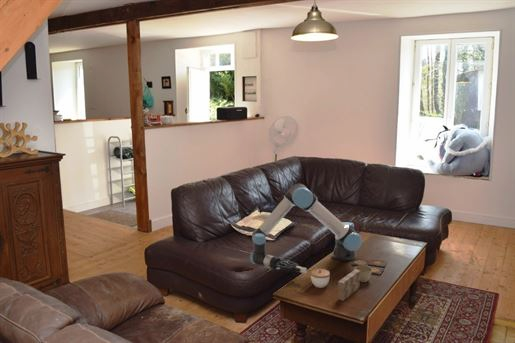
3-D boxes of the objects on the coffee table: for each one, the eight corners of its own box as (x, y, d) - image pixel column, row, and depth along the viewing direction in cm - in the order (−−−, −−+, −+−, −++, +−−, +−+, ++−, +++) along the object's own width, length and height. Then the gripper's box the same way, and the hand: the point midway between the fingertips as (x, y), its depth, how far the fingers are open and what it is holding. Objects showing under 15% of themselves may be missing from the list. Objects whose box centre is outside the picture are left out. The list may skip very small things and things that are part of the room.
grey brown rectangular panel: (354, 286, 253) (355, 269, 252) (359, 287, 252) (360, 270, 250) (338, 299, 238) (338, 281, 236) (343, 300, 236) (343, 282, 234)
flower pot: (372, 277, 264) (373, 266, 263) (371, 284, 255) (371, 272, 253) (355, 276, 267) (355, 264, 266) (353, 282, 258) (353, 270, 257)
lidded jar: (329, 290, 249) (329, 274, 248) (309, 288, 251) (309, 272, 250) (330, 282, 260) (330, 266, 258) (311, 280, 262) (311, 265, 260)
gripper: (278, 264, 280) (311, 273, 266) (266, 271, 270) (300, 280, 256) (278, 253, 279) (311, 261, 264) (266, 259, 268) (299, 268, 254)
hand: (306, 270), depth 260 cm, fingers closed
